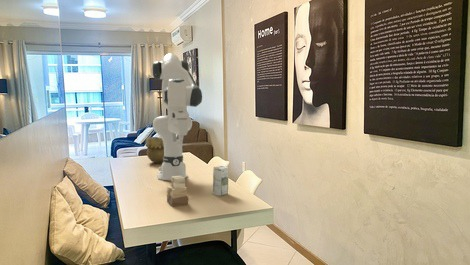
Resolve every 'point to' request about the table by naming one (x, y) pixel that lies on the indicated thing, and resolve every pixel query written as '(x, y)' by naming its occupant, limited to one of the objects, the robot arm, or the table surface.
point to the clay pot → (155, 149)
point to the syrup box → (220, 180)
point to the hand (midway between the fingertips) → (177, 143)
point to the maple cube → (178, 182)
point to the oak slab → (176, 192)
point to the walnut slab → (177, 201)
